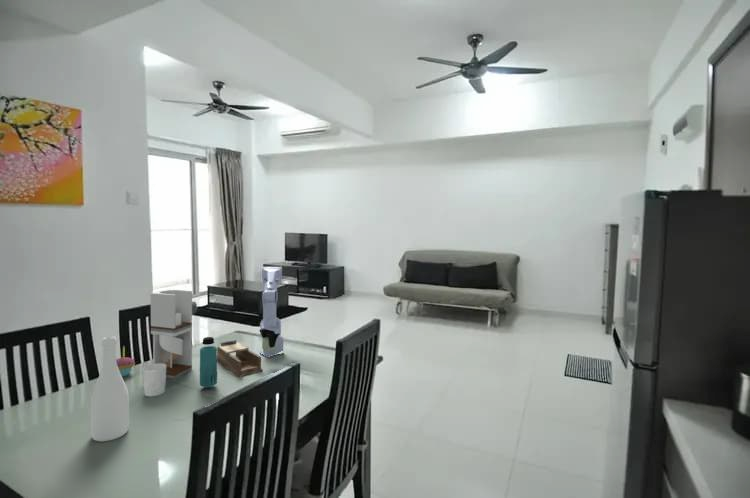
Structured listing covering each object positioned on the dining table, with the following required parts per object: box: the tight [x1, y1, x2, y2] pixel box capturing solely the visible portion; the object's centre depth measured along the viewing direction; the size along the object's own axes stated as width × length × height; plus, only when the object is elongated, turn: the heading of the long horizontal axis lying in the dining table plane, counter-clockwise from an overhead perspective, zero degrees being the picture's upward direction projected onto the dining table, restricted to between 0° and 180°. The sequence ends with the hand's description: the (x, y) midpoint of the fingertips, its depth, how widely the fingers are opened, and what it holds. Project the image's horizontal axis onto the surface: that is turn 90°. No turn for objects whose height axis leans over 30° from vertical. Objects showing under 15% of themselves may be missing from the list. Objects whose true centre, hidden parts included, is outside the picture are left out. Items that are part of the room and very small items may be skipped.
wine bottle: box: [90, 335, 130, 442], centre depth 118 cm, size 10×10×30 cm
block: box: [261, 337, 276, 351], centre depth 178 cm, size 4×4×5 cm
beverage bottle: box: [199, 336, 218, 388], centre depth 153 cm, size 6×7×20 cm
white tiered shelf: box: [150, 288, 193, 380], centre depth 167 cm, size 11×11×35 cm
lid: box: [217, 339, 250, 354], centre depth 181 cm, size 10×11×2 cm
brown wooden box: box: [216, 347, 264, 378], centre depth 178 cm, size 11×24×6 cm, turn 44°
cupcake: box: [116, 346, 136, 377], centre depth 164 cm, size 9×8×12 cm
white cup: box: [142, 363, 167, 397], centre depth 148 cm, size 8×8×10 cm
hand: (269, 345), depth 178 cm, fingers closed on block, 4 cm apart
